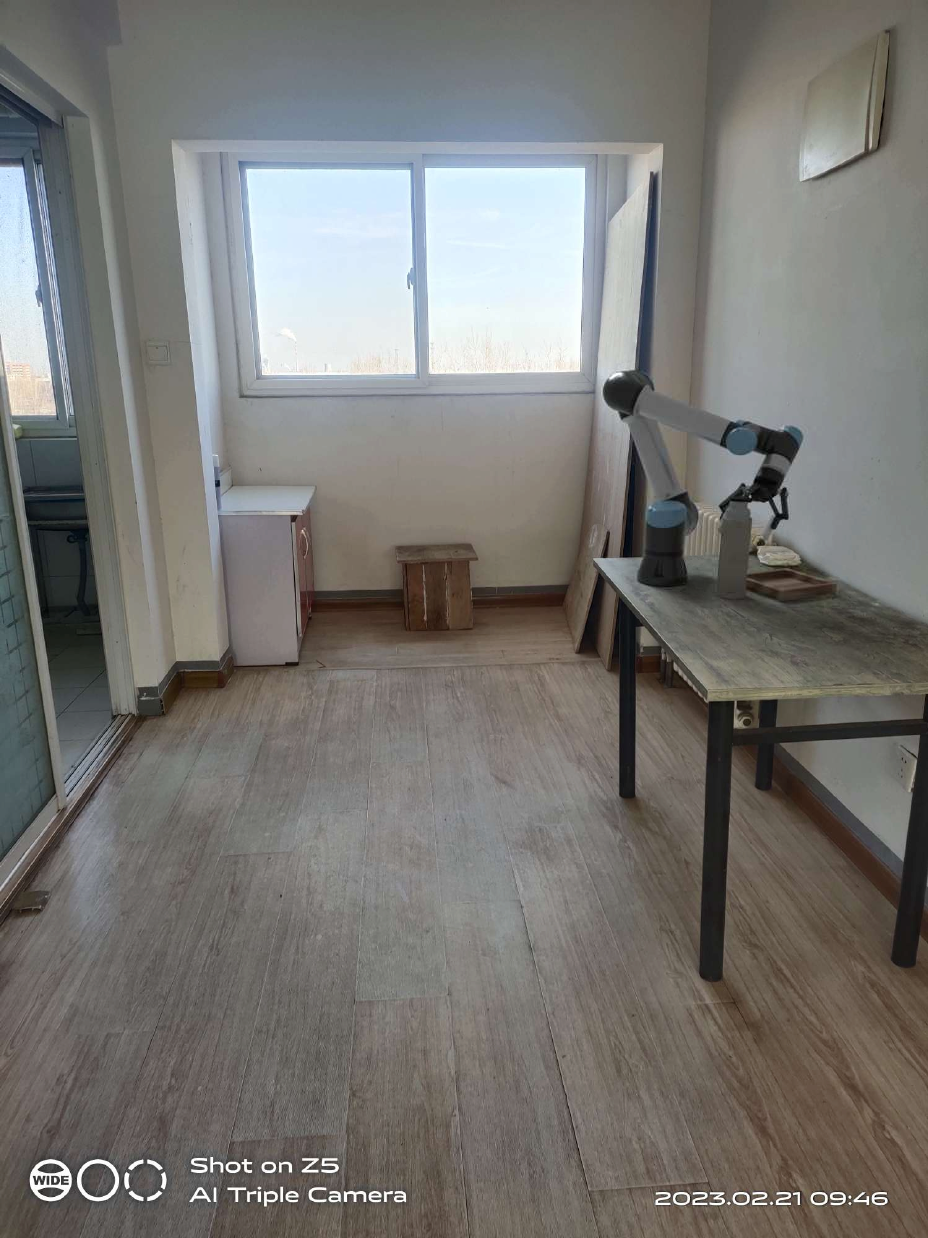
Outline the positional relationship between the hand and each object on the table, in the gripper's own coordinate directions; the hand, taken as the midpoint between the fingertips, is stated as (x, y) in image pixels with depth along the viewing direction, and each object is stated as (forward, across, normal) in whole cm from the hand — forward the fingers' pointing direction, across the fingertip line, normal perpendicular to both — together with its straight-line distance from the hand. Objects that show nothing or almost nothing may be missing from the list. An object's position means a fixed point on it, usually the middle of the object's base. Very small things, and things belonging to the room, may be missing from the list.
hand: (741, 534), depth 233 cm
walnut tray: (+2, -7, -23) cm, 24 cm away
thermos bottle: (+14, +1, -12) cm, 18 cm away
